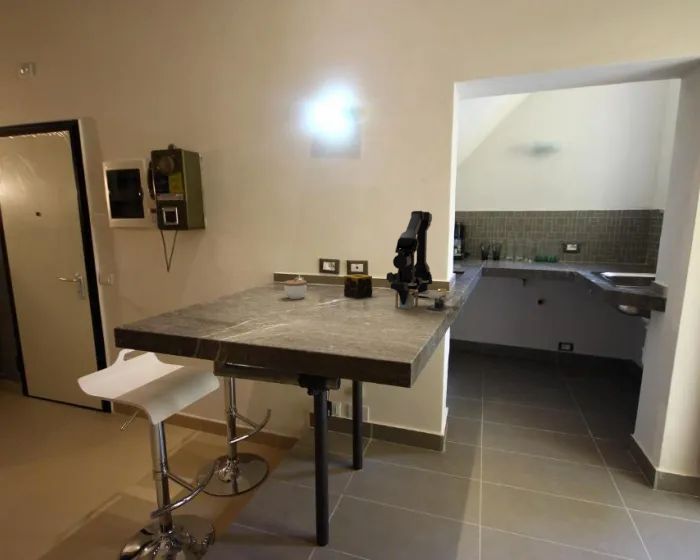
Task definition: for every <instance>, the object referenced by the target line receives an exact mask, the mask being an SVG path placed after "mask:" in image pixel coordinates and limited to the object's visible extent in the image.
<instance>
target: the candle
mask: <svg viewBox="0 0 700 560" xmlns="http://www.w3.org/2000/svg"><path fill="white" fill-rule="evenodd" d="M343 279H344V282H343V284H344V287H343V292H344V293H343V296H344V297H348V298H353V299H357V300H358V299H363V298H370V297H373V276H372V275H367V274H360V273H358V274H349V275H344V276H343Z"/></svg>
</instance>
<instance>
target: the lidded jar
mask: <svg viewBox="0 0 700 560" xmlns="http://www.w3.org/2000/svg"><path fill="white" fill-rule="evenodd" d="M283 285H284V286H283V287H284V292H285V294H286V296H287V297H288V299H289V300H290V299H291V300H300V299H302V298H303V297H304V296H305V294H306V292H307V289H308V288H307V285H308V283H307V280H304V279H297V277H294V278H293V279H291V280H286V281H283Z"/></svg>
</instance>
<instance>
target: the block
mask: <svg viewBox="0 0 700 560" xmlns="http://www.w3.org/2000/svg"><path fill="white" fill-rule="evenodd" d="M398 307H399V308H401V309H406V310H407V309H408V310H410V309H409V295H408V296H407V299H406V302H405V305H402V303H401V300H400V298H398ZM414 307H415V296H414V295H412V308H414Z"/></svg>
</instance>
